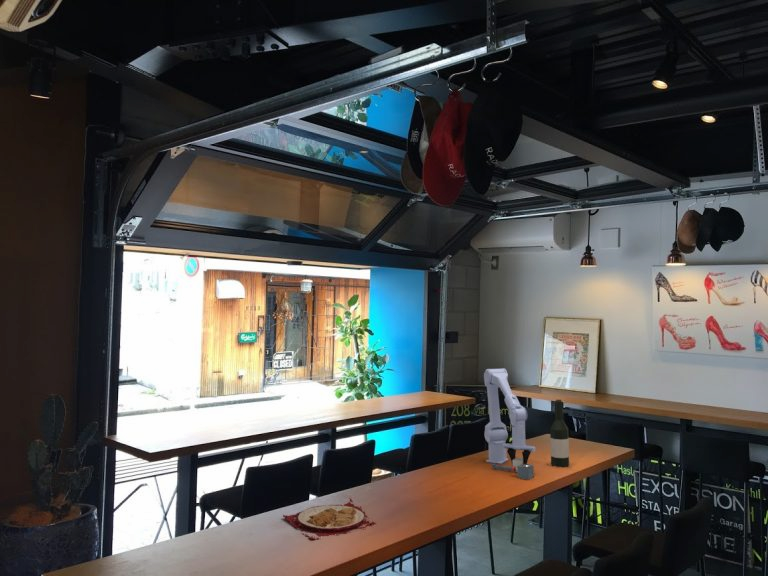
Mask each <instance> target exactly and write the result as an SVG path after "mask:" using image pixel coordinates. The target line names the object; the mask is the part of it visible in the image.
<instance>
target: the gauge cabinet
mask: <svg viewBox="0 0 768 576" xmlns="http://www.w3.org/2000/svg"><path fill="white" fill-rule="evenodd" d="M534 466H535V465H534V464H529V463H527V464H523V463H522V464H521V465H519V466H517V468H518V472H517V479H519V478H520V479H522V480H526V479H527V480H528V481H529V480H531V479H532V478H534V477H535V475H534V474H535V473H534V471H535V470H534ZM527 480H526V481H527Z"/></svg>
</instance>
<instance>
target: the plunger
mask: <svg viewBox="0 0 768 576" xmlns="http://www.w3.org/2000/svg"><path fill="white" fill-rule="evenodd" d="M510 467H511V471H510V472H511V473H518V468H516V467H515V466H512V465H511V466H510Z"/></svg>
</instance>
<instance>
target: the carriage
mask: <svg viewBox="0 0 768 576" xmlns="http://www.w3.org/2000/svg"><path fill="white" fill-rule="evenodd" d="M512 462H513V466H515V467H516V468H517V466H519V465H521V464H522V463H523V457H515V459H513V460H512ZM512 462H511V463H512Z"/></svg>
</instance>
